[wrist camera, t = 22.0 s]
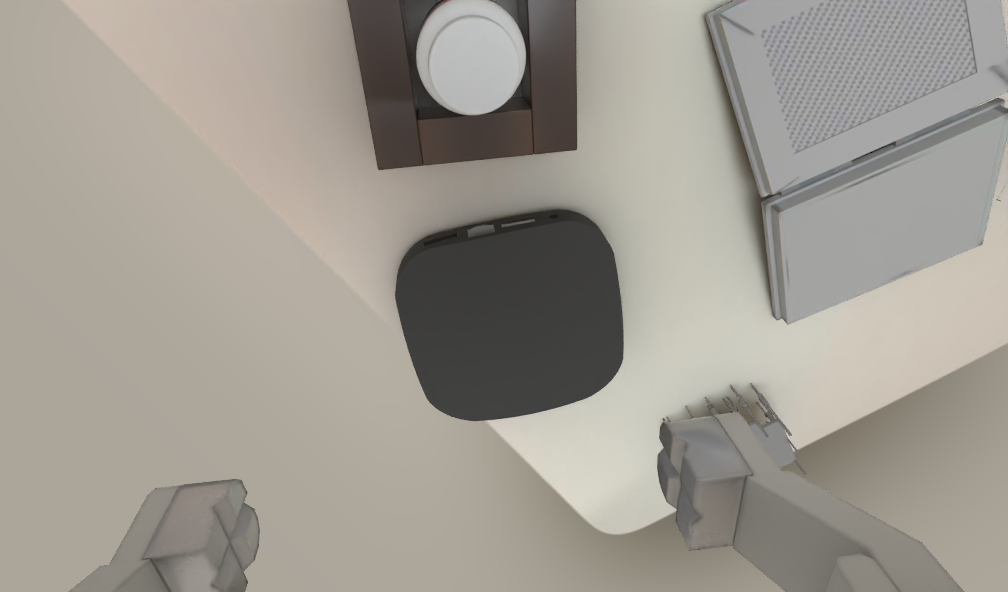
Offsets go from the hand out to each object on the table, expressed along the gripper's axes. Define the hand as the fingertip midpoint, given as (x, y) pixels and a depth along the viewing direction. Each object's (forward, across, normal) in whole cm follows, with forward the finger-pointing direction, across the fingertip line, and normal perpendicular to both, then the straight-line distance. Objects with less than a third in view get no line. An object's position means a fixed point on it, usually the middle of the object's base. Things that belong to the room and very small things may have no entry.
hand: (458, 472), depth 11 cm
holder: (+27, -2, -5) cm, 28 cm away
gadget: (+27, -27, +3) cm, 38 cm away
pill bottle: (+27, -2, -5) cm, 28 cm away
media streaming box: (+27, -4, +13) cm, 30 cm away
